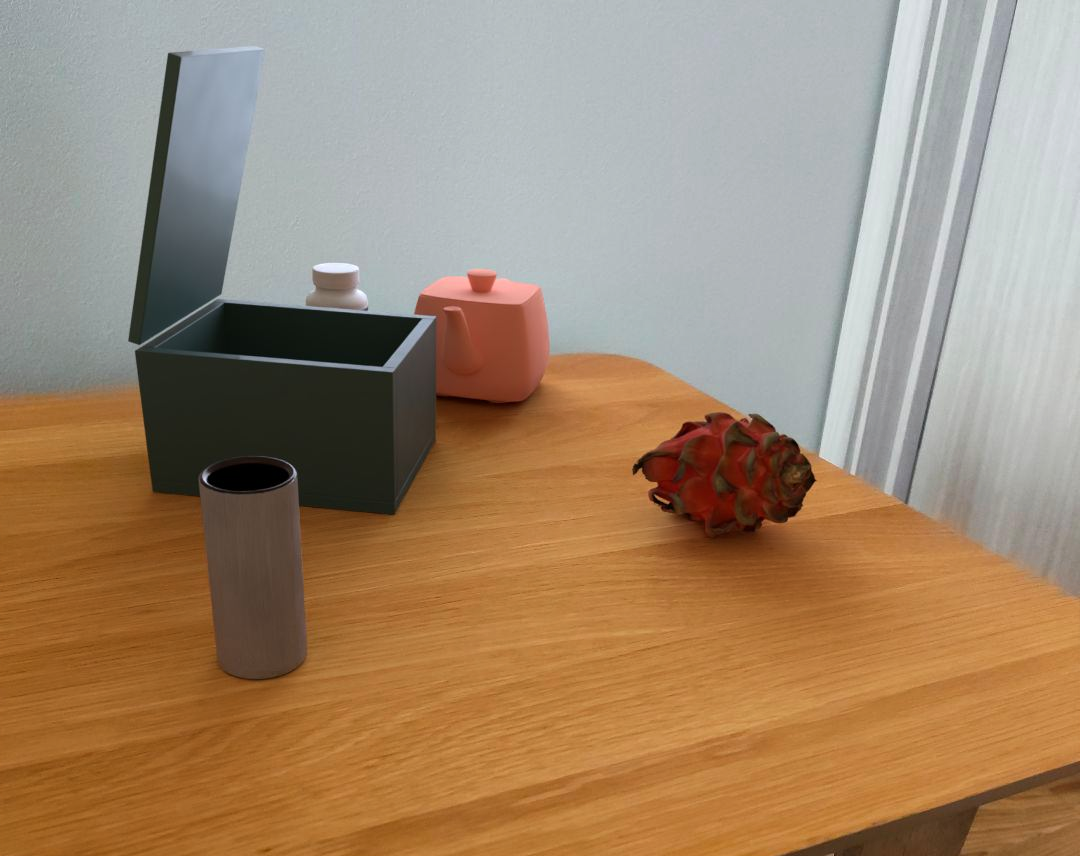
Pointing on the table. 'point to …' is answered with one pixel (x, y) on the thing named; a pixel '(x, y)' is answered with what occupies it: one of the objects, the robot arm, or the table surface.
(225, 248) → the lid
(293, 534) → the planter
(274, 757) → the table surface
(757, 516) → the dragon fruit
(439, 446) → the table surface
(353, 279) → the pill bottle
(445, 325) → the teapot
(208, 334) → the box
